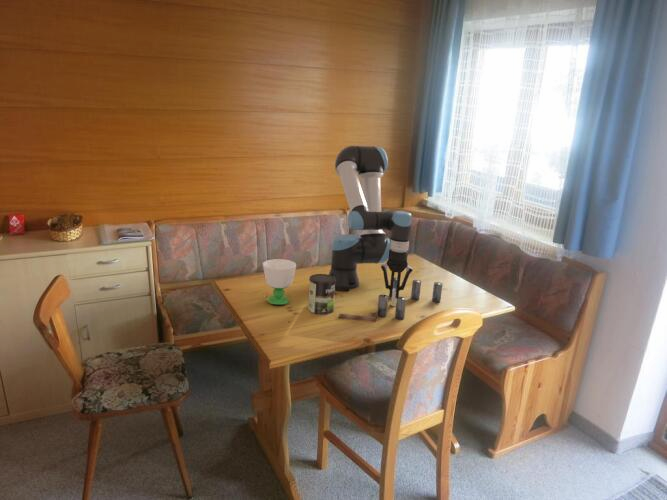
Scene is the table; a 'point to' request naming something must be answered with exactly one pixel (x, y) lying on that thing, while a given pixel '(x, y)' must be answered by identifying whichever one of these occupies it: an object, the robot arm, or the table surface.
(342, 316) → the hook stick
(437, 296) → the post
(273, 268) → the cup
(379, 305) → the post
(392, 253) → the robot arm
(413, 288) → the post
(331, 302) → the coffee can
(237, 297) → the table surface
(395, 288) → the post
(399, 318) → the post
